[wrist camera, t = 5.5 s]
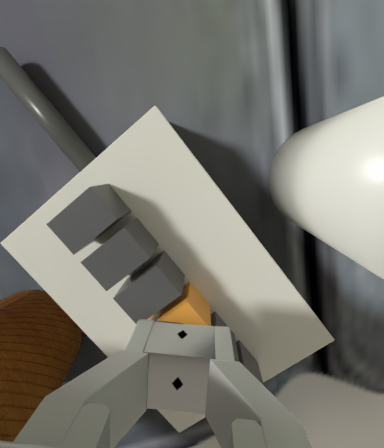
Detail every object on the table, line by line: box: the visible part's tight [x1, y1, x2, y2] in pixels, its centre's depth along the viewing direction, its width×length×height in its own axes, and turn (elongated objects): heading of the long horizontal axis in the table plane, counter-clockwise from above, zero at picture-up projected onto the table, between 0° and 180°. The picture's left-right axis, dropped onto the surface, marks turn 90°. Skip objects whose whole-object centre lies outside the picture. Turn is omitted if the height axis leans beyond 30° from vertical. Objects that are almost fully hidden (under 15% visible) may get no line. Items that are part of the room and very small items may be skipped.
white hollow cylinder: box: [268, 97, 384, 279], centre depth 11 cm, size 6×6×9 cm
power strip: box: [0, 47, 334, 433], centre depth 13 cm, size 10×22×6 cm, turn 38°
